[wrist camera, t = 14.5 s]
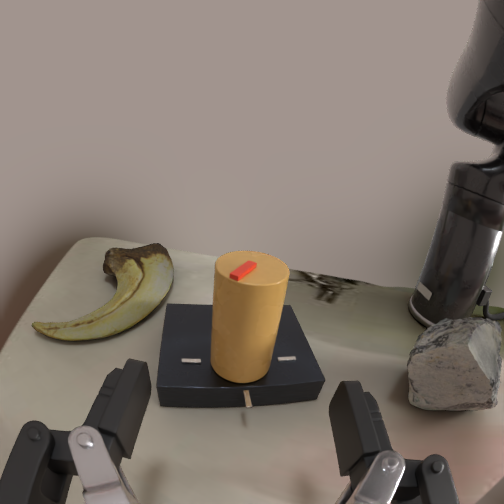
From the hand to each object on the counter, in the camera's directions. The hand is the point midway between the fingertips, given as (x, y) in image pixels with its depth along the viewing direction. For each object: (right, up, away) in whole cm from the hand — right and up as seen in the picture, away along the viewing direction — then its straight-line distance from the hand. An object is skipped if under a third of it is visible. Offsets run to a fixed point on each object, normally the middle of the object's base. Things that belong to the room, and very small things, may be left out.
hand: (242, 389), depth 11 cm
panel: (-1, -4, +13) cm, 13 cm away
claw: (-15, 0, +18) cm, 24 cm away
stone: (+17, -8, +9) cm, 21 cm away
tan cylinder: (0, -3, +9) cm, 10 cm away
